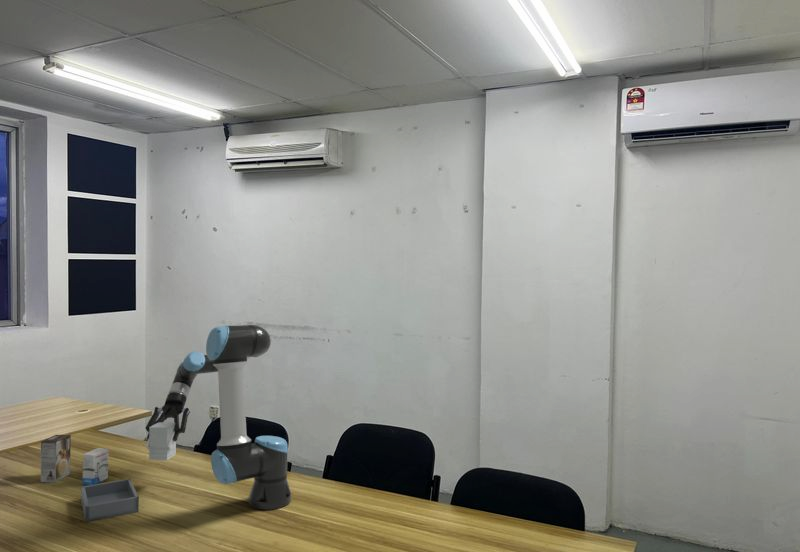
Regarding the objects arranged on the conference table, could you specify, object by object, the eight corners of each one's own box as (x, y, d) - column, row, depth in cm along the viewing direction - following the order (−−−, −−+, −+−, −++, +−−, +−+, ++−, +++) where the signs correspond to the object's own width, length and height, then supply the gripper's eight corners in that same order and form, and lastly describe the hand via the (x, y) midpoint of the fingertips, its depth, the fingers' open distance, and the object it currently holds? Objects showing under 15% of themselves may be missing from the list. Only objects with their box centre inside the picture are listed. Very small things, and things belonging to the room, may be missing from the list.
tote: (138, 511, 191) (138, 497, 191) (85, 522, 182) (85, 507, 182) (130, 491, 208) (130, 478, 208) (80, 500, 199) (81, 486, 199)
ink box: (92, 485, 213) (93, 455, 213) (81, 484, 214) (82, 454, 214) (108, 477, 221) (109, 448, 221) (97, 476, 222) (98, 447, 222)
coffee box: (54, 473, 224) (55, 434, 224) (70, 474, 224) (71, 434, 224) (39, 482, 215) (40, 440, 215) (56, 482, 215) (57, 441, 215)
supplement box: (176, 454, 217) (177, 422, 217) (166, 461, 210) (167, 427, 210) (158, 453, 218) (159, 421, 218) (148, 460, 210) (148, 426, 210)
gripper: (204, 402, 229) (187, 453, 213) (155, 400, 229) (135, 452, 213) (199, 391, 224) (182, 444, 207) (149, 390, 224) (128, 442, 208)
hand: (158, 448), depth 210 cm, fingers closed on supplement box, 7 cm apart
